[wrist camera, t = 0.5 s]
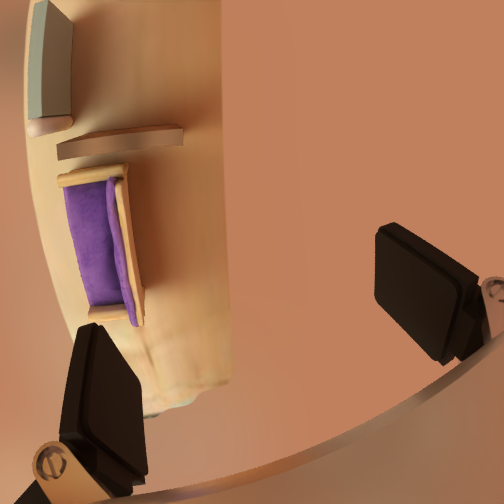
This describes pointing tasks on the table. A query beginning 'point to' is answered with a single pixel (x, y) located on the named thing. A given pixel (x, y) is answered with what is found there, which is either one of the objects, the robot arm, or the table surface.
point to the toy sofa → (104, 241)
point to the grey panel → (49, 71)
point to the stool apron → (121, 141)
